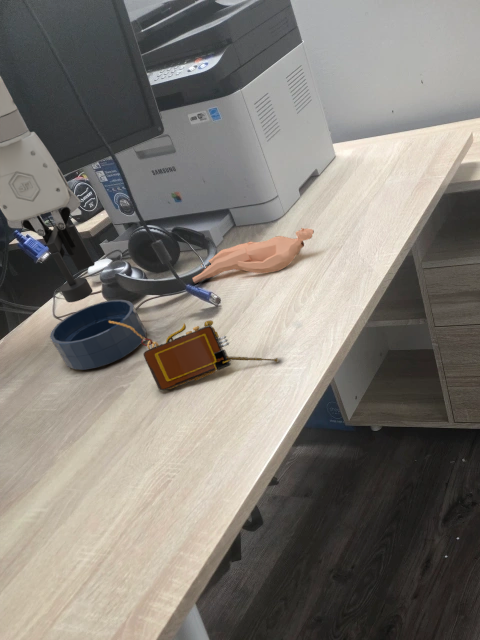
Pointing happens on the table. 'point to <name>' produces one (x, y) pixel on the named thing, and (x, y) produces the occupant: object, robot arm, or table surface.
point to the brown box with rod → (187, 356)
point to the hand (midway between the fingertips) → (67, 253)
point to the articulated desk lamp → (81, 259)
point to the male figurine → (257, 256)
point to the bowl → (98, 334)
